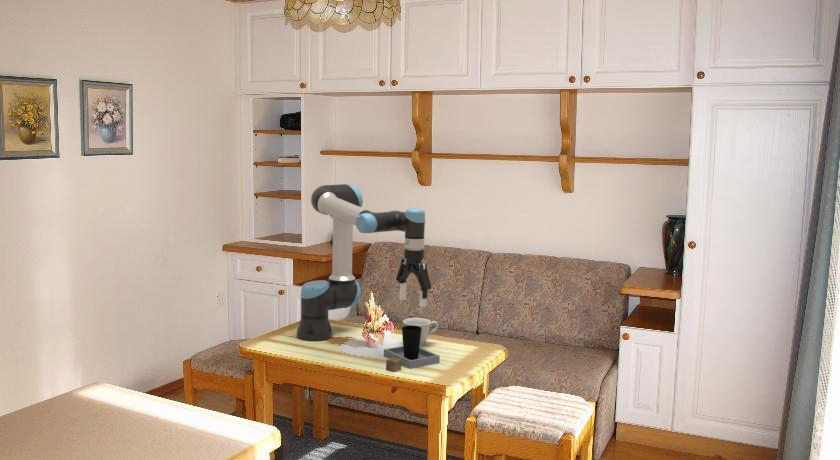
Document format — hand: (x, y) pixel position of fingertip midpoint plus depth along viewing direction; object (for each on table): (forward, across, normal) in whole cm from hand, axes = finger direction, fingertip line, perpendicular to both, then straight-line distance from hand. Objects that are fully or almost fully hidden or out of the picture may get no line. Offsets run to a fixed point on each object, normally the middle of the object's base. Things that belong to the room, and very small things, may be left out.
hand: (412, 303), depth 298 cm
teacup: (+23, -15, +15) cm, 31 cm away
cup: (+22, 0, 0) cm, 22 cm away
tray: (+23, 0, 0) cm, 23 cm away
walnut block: (+23, +7, -13) cm, 27 cm away
